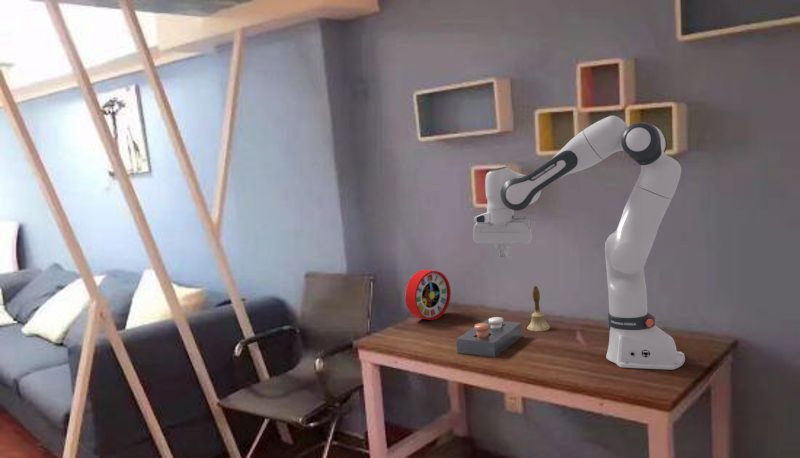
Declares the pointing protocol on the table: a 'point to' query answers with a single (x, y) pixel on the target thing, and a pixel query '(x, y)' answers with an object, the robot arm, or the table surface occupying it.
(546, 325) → the hand bell
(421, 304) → the toy clock
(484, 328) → the peach mushroom-shaped knob
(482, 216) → the robot arm
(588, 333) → the table surface
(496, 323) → the white plunger
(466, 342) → the button console
